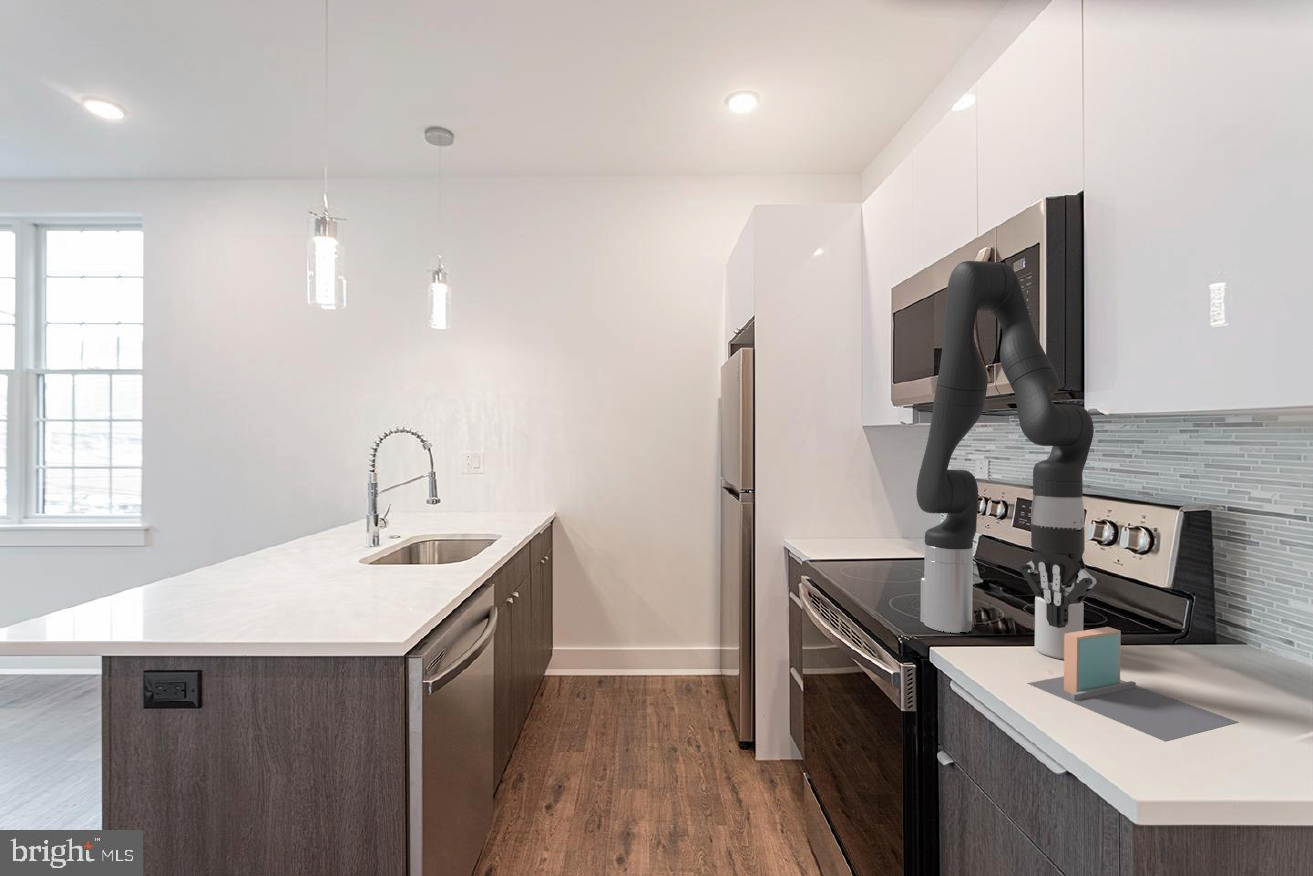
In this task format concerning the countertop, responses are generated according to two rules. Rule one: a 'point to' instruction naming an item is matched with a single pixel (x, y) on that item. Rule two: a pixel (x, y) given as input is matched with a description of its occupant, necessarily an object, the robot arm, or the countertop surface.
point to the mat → (1140, 708)
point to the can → (1055, 629)
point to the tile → (1091, 659)
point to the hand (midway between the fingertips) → (1057, 626)
